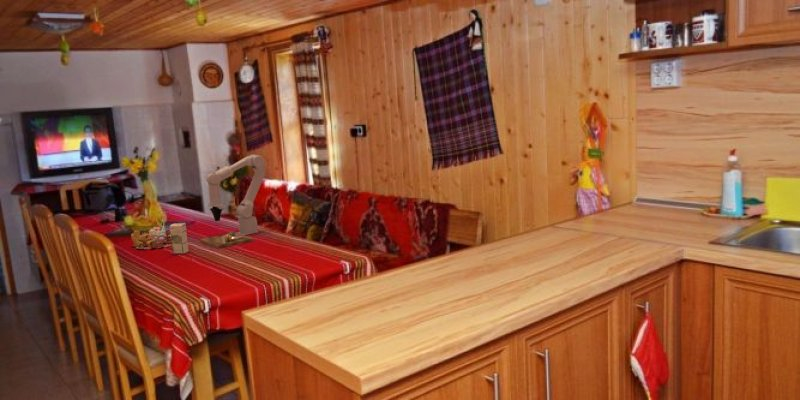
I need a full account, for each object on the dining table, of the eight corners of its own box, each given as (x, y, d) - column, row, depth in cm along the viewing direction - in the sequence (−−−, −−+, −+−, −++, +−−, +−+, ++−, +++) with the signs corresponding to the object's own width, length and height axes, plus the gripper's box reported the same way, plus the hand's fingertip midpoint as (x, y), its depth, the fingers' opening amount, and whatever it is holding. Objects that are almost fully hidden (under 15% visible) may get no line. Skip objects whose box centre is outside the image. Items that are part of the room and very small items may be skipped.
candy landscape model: (149, 252, 312) (147, 234, 311) (124, 247, 326) (121, 230, 325) (192, 241, 332) (190, 224, 330) (166, 237, 346) (164, 221, 344)
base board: (235, 235, 342) (235, 232, 341) (254, 241, 325) (253, 238, 325) (200, 241, 329) (199, 239, 329) (217, 248, 312) (217, 245, 312)
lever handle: (225, 236, 332) (224, 230, 332) (245, 235, 332) (244, 229, 331) (213, 244, 315) (212, 237, 315) (234, 243, 314) (233, 237, 314)
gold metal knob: (231, 240, 321) (230, 234, 321) (232, 241, 320) (232, 235, 319) (228, 241, 320) (227, 235, 320) (229, 242, 319) (229, 235, 318)
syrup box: (188, 251, 310) (185, 222, 308) (183, 254, 305) (180, 225, 302) (178, 251, 311) (174, 222, 309) (172, 254, 305) (169, 225, 303)
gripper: (202, 195, 336) (204, 220, 338) (213, 198, 325) (216, 223, 327) (214, 193, 340) (217, 218, 343) (226, 196, 329) (228, 221, 332)
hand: (217, 220), depth 335 cm, fingers closed
